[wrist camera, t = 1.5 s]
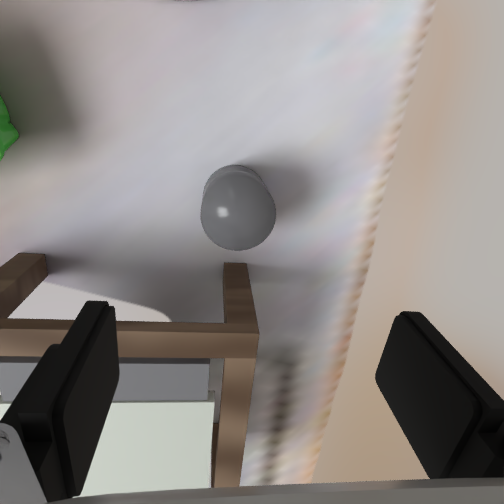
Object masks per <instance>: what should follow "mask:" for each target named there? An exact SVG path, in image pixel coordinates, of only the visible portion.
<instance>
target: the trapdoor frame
mask: <svg viewBox="0 0 504 504" xmlns="http://www.w3.org/2000/svg"><path fill="white" fill-rule="evenodd" d="M47 276H48V272H47V266H46V260H45V254H29V253H18V254H17V255H16V256H14V257H13V258H12V259H10V260H9V261H8V262H6V263H5V264H4V265H3V266H1V267H0V356H41V357H42V356H43V355H44V353H45V351H46V350H47V349H48V347H49V346H50V345H52V344H60V343H61V342H62V340H63V339H64V337H65V335H66V334H67V332H68V331H69V329H70V327H71V326H72V324H73V322H74V321H75V320H56V319H55V320H54V319H10V318H8V317H9V315H10V314H11V313H12V312H13V311H14V310H15V309H16V308H17V307H18V306H19V305H20V304H21V303H22V302H23V301H24V300H25V299H26V298H27V297H28V296H29V295H30V294H31V293H32V292H33V290H34V289H35V288H36V287H37V286H38V285H39V284H40V283H41V282H42V281H43V280H44V279H45V278H46V277H47ZM223 302H224V323H187V322H144V321H143V322H142V321H116V330H117V343H118V356H119V357H146V358H224V368H223V380H222V392H221V404H220V416H219V423H213V430H212V449H211V488H219V487H239V484H240V477H241V469H242V461H243V454H244V446H245V439H246V431H247V424H248V416H249V408H250V401H251V393H252V386H253V378H254V371H255V363H256V355H257V348H258V340H259V329H258V324H257V318H256V313H255V307H254V302H253V297H252V291H251V286H250V280H249V275H248V269H247V264H245V263H224V272H223Z"/></svg>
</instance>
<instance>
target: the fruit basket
mask: <svg viewBox="0 0 504 504" xmlns="http://www.w3.org/2000/svg"><path fill="white" fill-rule="evenodd" d="M18 137H19V134H18V132H17V130H16V129H15V127H14V126H13V125H12V124H11V123H10V118H9V113H8V111H7V108H6V106H5V104H4V102H3V100H2V98H1V95H0V161H1V159H2V158H3V156H4V153H5V151H6V150H7V149H8V148H9V147H10V146H11V145H12V144H13V143H14V142H15V141H16V140H17V139H18Z"/></svg>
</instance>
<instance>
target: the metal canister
mask: <svg viewBox="0 0 504 504" xmlns="http://www.w3.org/2000/svg"><path fill="white" fill-rule="evenodd" d="M275 219H276V208H275V204H274V201H273V199H272V197H271V195H270V193H269V192H268V190H267V188H266V187H265V185H264V183H263V181H262V180H261V178H260V177H259V176H258V175H257V174H256V173H255V172H254V171H253V170H251V169H249V168H247V167H244V166H239V165H230V166H226V167H223V168H221V169H219V170H217V171H216V172H214V173H213V174H212V175H211V176H210V178H209V179H208V181H207V182H206V185H205V187H204V192H203V199H202V206H201V223H202V226H203V229H204V231H205V233H206V234H207V236H208V237H209V238H210V239H211V240H212V241H213V242H214V243H216V244H217V245H219V246H221V247H223V248H225V249H229V250H235V251H239V250H247V249H250V248H253V247H255V246H257V245H259V244H260V243H262V242H263V241H264V240H265V239H266V238H267V237H268V236H269V234H270V233H271V231H272V229H273V227H274V224H275Z"/></svg>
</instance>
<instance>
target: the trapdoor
mask: <svg viewBox="0 0 504 504" xmlns="http://www.w3.org/2000/svg"><path fill="white" fill-rule="evenodd" d="M41 358H42V357H41V356H0V392H1V395H0V420H1V419H2V417H3V416H4V414H5V412H6V411H7V409H8V408H9V406H10V405H11V403H12V402H13V400H14V399H15V397H16V396H17V394H18V393H19V391H20V390H21V388H22V387H23V385H24V384H25V382H26V380H27V379H28V377H29V376H30V374H31V373H32V371H33V370H34V368H35V367H36V365H37V364H38V362H39V361H40V359H41ZM209 365H210V358H146V357H119V369H120V375H119V382H118V385H117V388H116V391H115V394H114V397H113V400H112V403H111V406H110V409H109V412H108V415H107V418H106V421H105V424H104V427H103V430H102V433H101V436H100V439H99V442H98V445H97V448H96V451H95V454H94V457H93V460H92V463H91V466H90V469H89V472H88V475H87V478H86V481H85V484H84V487H83V490H82V492H81V494H80V496H77V497H85V496H94V495H102V494H113V493H128V492H144V491H160V490H175V489H197V488H208V485H209V471H210V457H211V444H212V430H213V416H214V403H215V391H208V381H209ZM73 498H76V497H73Z"/></svg>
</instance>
